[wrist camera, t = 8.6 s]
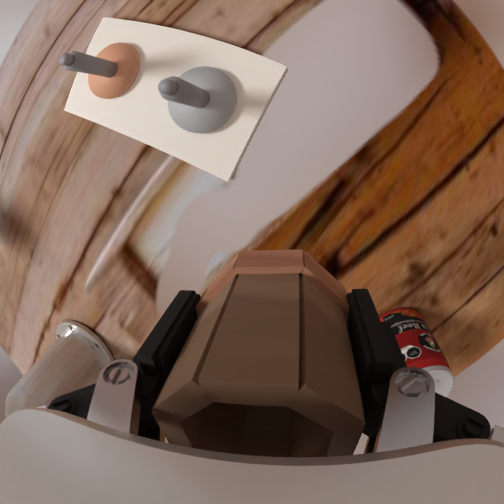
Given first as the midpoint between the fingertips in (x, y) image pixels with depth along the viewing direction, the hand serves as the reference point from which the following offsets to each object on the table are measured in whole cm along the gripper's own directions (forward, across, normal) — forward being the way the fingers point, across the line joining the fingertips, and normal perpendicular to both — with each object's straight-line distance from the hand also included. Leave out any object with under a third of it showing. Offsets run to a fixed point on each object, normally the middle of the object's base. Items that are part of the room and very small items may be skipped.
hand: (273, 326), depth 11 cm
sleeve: (+1, 0, 0) cm, 1 cm away
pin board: (+18, +12, -14) cm, 26 cm away
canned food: (+19, -13, +15) cm, 27 cm away
